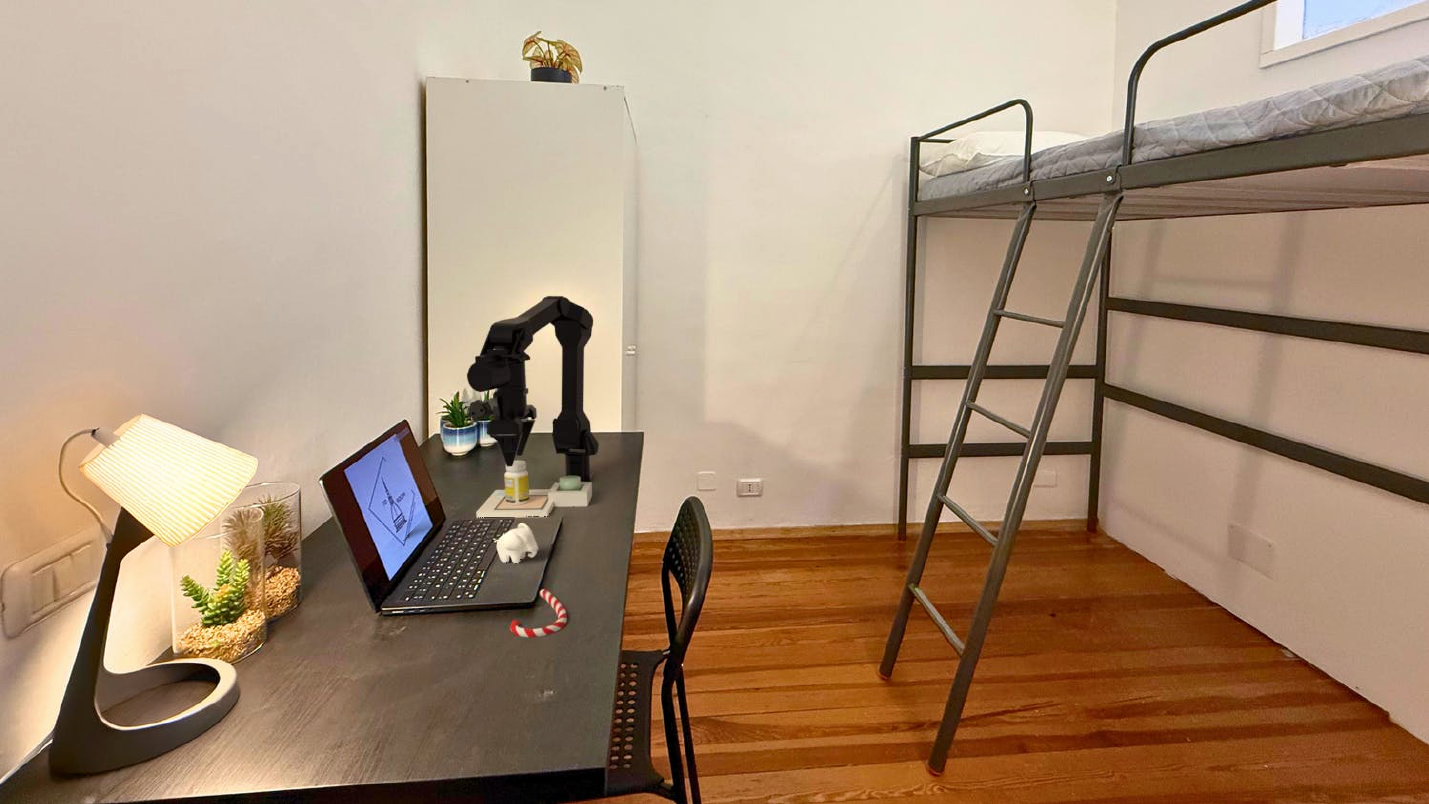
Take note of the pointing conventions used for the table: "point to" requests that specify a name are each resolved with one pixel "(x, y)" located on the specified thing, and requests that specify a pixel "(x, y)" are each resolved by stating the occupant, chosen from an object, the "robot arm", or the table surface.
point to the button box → (570, 496)
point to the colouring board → (500, 508)
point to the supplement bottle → (516, 484)
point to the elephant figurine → (516, 544)
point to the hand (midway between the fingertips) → (514, 460)
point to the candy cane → (545, 630)
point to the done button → (570, 483)
